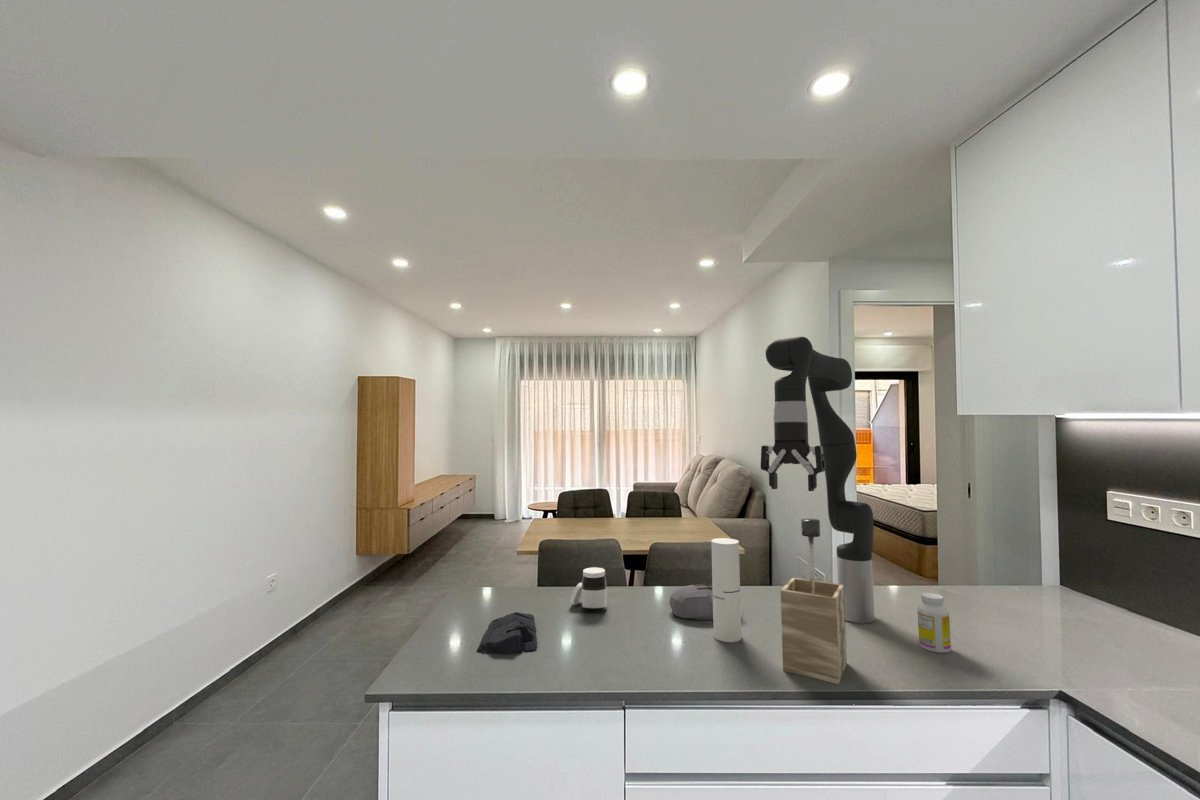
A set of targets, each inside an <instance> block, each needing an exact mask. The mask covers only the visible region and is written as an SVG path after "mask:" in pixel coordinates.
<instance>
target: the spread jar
mask: <svg viewBox="0 0 1200 800" xmlns="http://www.w3.org/2000/svg"><path fill="white" fill-rule="evenodd" d="M605 575H606V569H604V568H603V567H595V566H593V567H587V568H584V569H583V570H582V580H581V582H578V584H577V585H576V586H575V587H574V588H573V591H572V593H571V596H570V603H571V604H572V605H574V606H577V605H578V604H580V603H581V608H582V610H583V611H585V612H586V611H587V613H592V612H593V613H601V612H604V611H606V609H607V604H608V603H607V602H608V600H607V599H608V596H607V594H608V593H607V585H608V584H607V578H606V576H605Z"/></svg>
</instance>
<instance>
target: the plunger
mask: <svg viewBox="0 0 1200 800" xmlns="http://www.w3.org/2000/svg"><path fill="white" fill-rule="evenodd" d="M800 520H801V522H800V523H801V526H800V528H801V536H803V537H807V542H808V544H807V545H808V546H807V547H808V566H809V567H808V569H809V570H808V571H809V574H808V575H809V576H808V577H809V580H810V594H815V595H816V590H815V581H816V568H815V567H816V565H815V538H819V537H820V536H821V523H820V522H821V521H820V519H816V518H801V519H800Z"/></svg>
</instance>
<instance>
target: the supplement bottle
mask: <svg viewBox="0 0 1200 800" xmlns="http://www.w3.org/2000/svg"><path fill="white" fill-rule="evenodd" d="M920 597H921V598H920V599H921V601H922V602H921V603H919V604H918V605H917V609H916V610H917V625H918V629H917V630H918V641H919V642H918V643H919V646H920V647H921V648H923V649H925V650H926V651H929V652H933V653H937V654H944V653H945V654H946V653H949V652H951V650H952V641H951V628H950V627H951V626H950V625H951V624H950V612H949V609H948V608H947V607H946V606H944V605H943V604H944V601H945V600H944V596H943V595H941V594H938V593H933V592H922V593H921V595H920Z"/></svg>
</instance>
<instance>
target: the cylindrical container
mask: <svg viewBox="0 0 1200 800" xmlns="http://www.w3.org/2000/svg"><path fill="white" fill-rule="evenodd" d="M710 543H711V577H712V578H711V579H712V582H711V584H712V587H713V620H712V621H713V622H712V623H713V624H712V625H713V638H715V639H716V640H718V641H721V642H724V643H737V642H739V641H741V640H742V610H741V607H742V606H741V578H740V577H741V575H740V574H741V573H740V570H741V569H740V541H739V540H737V539H734V538H727V537H725V538H724V537H723V538H722V537H721V538H712V539H711V542H710Z"/></svg>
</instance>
